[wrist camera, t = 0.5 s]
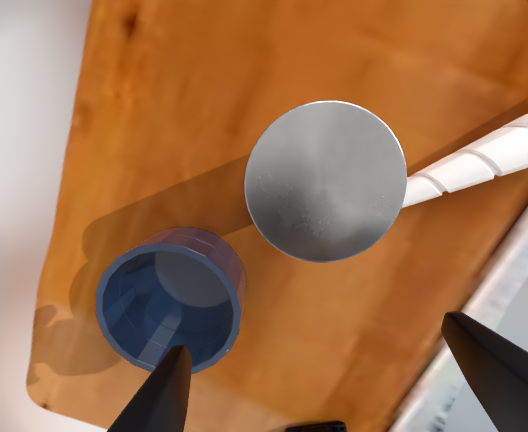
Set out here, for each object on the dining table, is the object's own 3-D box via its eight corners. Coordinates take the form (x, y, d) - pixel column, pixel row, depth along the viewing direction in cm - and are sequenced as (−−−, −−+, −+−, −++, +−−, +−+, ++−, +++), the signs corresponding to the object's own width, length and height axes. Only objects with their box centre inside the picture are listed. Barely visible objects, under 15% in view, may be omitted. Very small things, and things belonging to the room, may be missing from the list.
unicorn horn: (310, 187, 22) (321, 193, 17) (598, 69, 19) (703, 39, 15) (328, 235, 23) (344, 254, 18) (606, 128, 20) (708, 118, 16)
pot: (256, 325, 25) (253, 365, 20) (148, 341, 26) (119, 384, 21) (233, 216, 23) (222, 231, 18) (115, 237, 23) (74, 257, 18)
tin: (331, 200, 22) (414, 250, 9) (265, 211, 22) (259, 275, 10) (322, 131, 21) (403, 81, 8) (253, 144, 21) (227, 117, 9)
